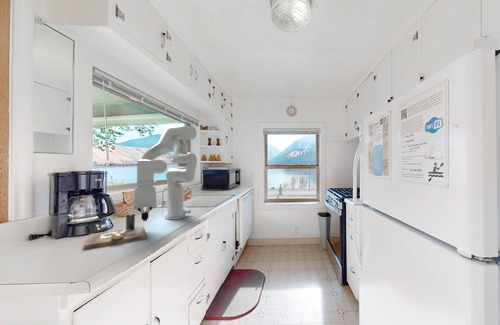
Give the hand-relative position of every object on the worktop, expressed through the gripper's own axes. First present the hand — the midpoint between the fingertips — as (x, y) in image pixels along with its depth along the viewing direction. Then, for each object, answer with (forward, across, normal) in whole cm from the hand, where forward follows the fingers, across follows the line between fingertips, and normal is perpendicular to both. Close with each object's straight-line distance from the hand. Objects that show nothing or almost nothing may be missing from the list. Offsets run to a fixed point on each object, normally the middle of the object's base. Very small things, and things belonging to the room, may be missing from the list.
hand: (144, 220), depth 103 cm
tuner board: (+5, +11, +5) cm, 14 cm away
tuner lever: (+3, +9, +6) cm, 11 cm away
